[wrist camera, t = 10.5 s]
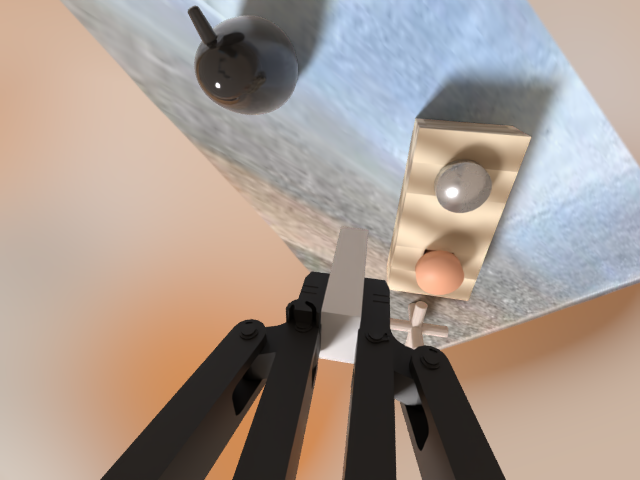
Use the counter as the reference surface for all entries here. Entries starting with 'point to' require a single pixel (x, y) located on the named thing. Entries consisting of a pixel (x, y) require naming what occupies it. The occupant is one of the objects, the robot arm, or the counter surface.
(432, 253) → the terracotta plunger
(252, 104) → the pump dispenser
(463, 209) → the grey shiny disc
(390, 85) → the counter surface
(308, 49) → the counter surface
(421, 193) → the panel housing
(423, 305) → the pipe connector
